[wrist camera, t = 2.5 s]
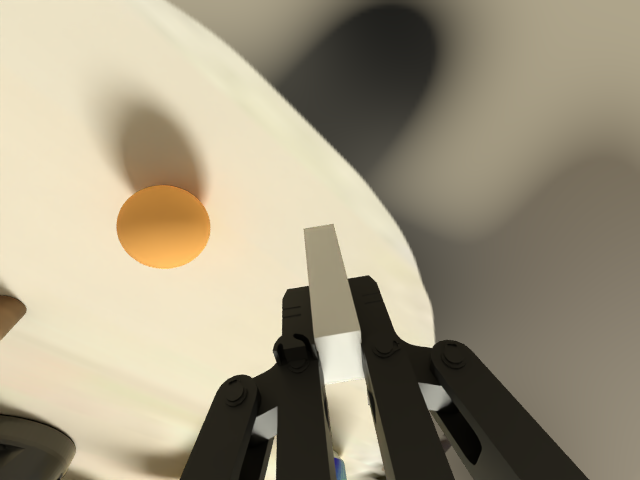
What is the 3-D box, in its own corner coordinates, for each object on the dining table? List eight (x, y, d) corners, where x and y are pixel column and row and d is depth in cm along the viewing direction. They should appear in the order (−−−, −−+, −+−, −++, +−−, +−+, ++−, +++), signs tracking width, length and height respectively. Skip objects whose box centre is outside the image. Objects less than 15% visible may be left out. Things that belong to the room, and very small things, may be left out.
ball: (157, 244, 24) (127, 292, 19) (122, 179, 21) (78, 219, 16) (226, 232, 24) (213, 278, 19) (201, 166, 21) (179, 202, 16)
